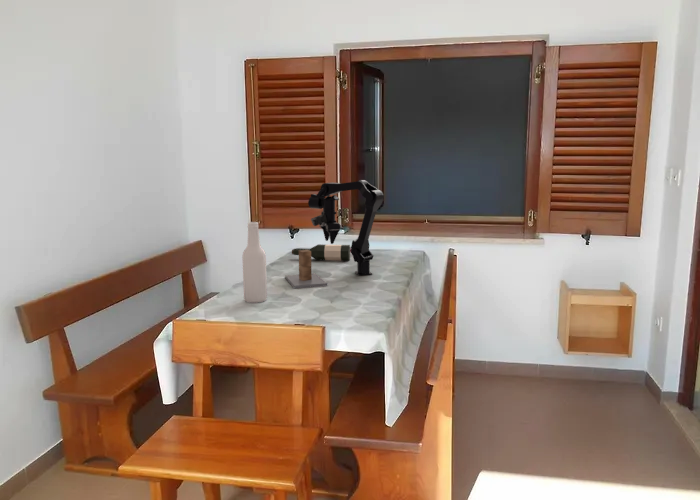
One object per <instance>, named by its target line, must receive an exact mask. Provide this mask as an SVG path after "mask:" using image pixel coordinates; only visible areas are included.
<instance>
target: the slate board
mask: <svg viewBox="0 0 700 500" xmlns="http://www.w3.org/2000/svg"><path fill="white" fill-rule="evenodd" d="M311 273H312V272H311ZM284 276H285V277H284V278H285V280H286V281H287V282H288V283H289V284H290V285H291V286H292V288H293V289H307V288H319V287H327V286H328V282H327V281H325V280H324V279H323V278H321V276H319V275H318V273H315V272H314V273H312V280H305V281H303V280H301V279H299V273H298V274H287V275H284Z"/></svg>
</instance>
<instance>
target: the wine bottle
mask: <svg viewBox="0 0 700 500" xmlns="http://www.w3.org/2000/svg"><path fill="white" fill-rule="evenodd" d="M350 248H351V245H350V244H320V243H319V244H316V245H315V246H312V247H311V248H293V249H291V254H292V255H293V256H299V251H300V250H309V251H311V258H313V259H315V260H316V261H336V262H337V261H340V262H341V261H343V262H345V261H346V262H349V261H350V260H351V249H350Z"/></svg>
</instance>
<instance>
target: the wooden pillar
mask: <svg viewBox="0 0 700 500" xmlns="http://www.w3.org/2000/svg"><path fill="white" fill-rule="evenodd" d="M298 271H299V272H298V274H299V279H301V280H303V281H305V280H312V257H311V251H309V250H300V251H299V255H298Z"/></svg>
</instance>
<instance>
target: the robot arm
mask: <svg viewBox="0 0 700 500" xmlns="http://www.w3.org/2000/svg"><path fill="white" fill-rule="evenodd" d="M355 190H358V191H359V192H360V194H361V195H362V197H364V205H365V211H364V215H363V219H362V221H361V222H362V223H361V226H360V229H359V234H358V236H357V238H356V239H353V240H352V242H351V245H350V254H351V256H352V259H353V261H354V263H355V262H356V266H357V268H356V270H357V271H354V273H355V274H356V275H358V276H368V275H369V276H370V275H373V272H371V271H370V269H371V268H370V267H371V266H370V263H371V260H373V259H374V256H375V255H374V254H373V252H371V250H370V242H369V239H370V235H371V232H372V228H373V224H374V221H375V218H376V215H377V211H378V210H379V208H380V207H381V206H382V204H383V201H384V199H385V195H384V193H383V191H382V190H380V189H378V188H377V187H376V186H374V185H372V184H370V183H369V182H368V181H367V180H365V179H360V180H359V179H358V180H357V181H350V182H342V183H340V182H333V181H332V182H324V183H322V184H321V186H320V189H319V190H318V191H317V194H316V193H312V194H310V197H309V198H308V201H307V206H308V207H309V208H310V209H317V210H318V209H319V210H322V211H321V214H320V215H317V216H314V217H312V218H310V221H311V223H312V226H314V227H317V226H318V227H320V228H321V230H322V231H323V235H324V236H323V237H324V240H325V241H327V242H328V241H329V240H330V241H329V242H330V245H334V244H335V241H336V238H337V237H338V234H339V232H340V231H341V229H342V227H341V226H342V225H341V224H340V223H338V222H337V220H336V215H337V211H336V201H339V200H340V198H339V197H338V196H337V195H336V194H339V193H342V192H345V191H355Z"/></svg>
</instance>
